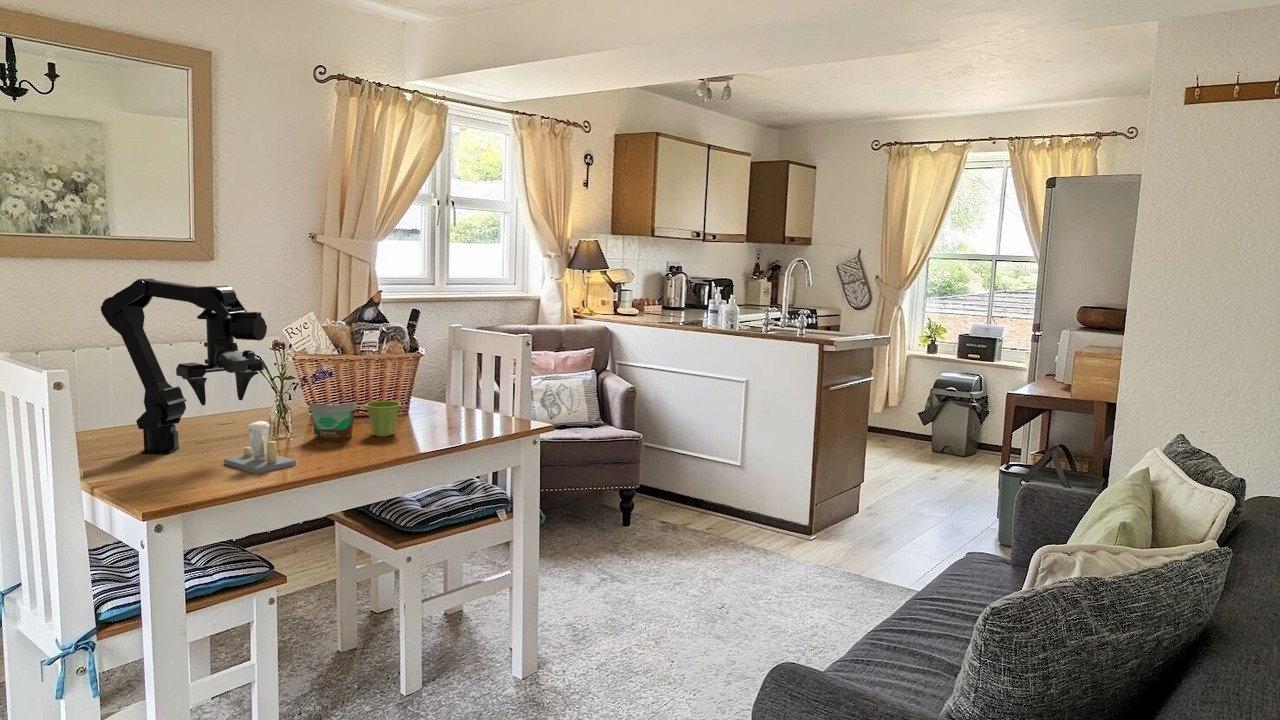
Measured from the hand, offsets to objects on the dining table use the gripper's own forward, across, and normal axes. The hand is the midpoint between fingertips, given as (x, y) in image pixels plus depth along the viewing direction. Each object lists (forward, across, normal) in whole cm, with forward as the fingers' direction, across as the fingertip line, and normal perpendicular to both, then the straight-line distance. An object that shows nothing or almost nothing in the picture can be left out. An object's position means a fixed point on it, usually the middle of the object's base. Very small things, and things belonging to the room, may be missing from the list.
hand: (222, 402), depth 200 cm
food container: (+13, +27, -6) cm, 30 cm away
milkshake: (+12, 0, -14) cm, 18 cm away
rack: (+13, +1, -14) cm, 19 cm away
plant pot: (+13, +40, -10) cm, 43 cm away
